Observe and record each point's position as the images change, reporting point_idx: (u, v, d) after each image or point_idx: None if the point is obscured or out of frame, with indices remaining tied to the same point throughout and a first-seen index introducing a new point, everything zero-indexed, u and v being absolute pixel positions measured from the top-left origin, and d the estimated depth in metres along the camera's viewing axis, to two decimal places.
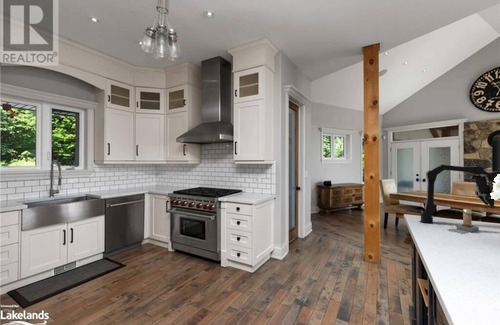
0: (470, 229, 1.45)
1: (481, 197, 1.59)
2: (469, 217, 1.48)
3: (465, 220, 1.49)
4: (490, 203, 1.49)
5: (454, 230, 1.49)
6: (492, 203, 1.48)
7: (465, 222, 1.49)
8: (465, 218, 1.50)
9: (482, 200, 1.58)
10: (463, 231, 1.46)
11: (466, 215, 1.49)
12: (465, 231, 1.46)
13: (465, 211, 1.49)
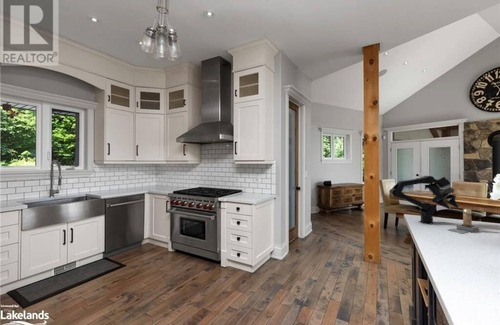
0: (470, 229, 1.45)
1: (450, 202, 1.63)
2: (469, 217, 1.48)
3: (465, 220, 1.49)
4: (444, 205, 1.58)
5: (454, 230, 1.49)
6: (445, 205, 1.57)
7: (465, 222, 1.49)
8: (465, 218, 1.50)
9: (452, 204, 1.62)
10: (463, 231, 1.46)
11: (466, 215, 1.49)
12: (465, 231, 1.46)
13: (465, 211, 1.49)
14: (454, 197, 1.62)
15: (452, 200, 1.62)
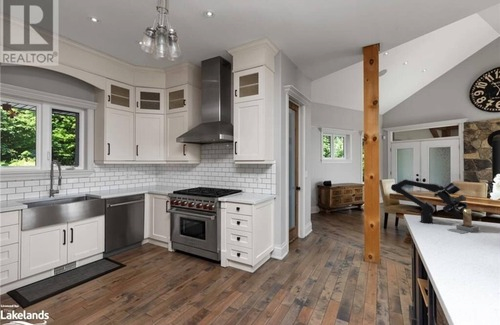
0: (470, 229, 1.45)
1: (461, 210, 1.57)
2: (469, 217, 1.48)
3: (465, 220, 1.49)
4: (456, 214, 1.51)
5: (454, 230, 1.49)
6: (457, 214, 1.51)
7: (465, 222, 1.49)
8: (465, 218, 1.50)
9: None
10: (463, 231, 1.46)
11: (466, 214, 1.49)
12: (465, 231, 1.46)
13: (465, 211, 1.49)
14: (466, 205, 1.55)
15: (464, 208, 1.56)
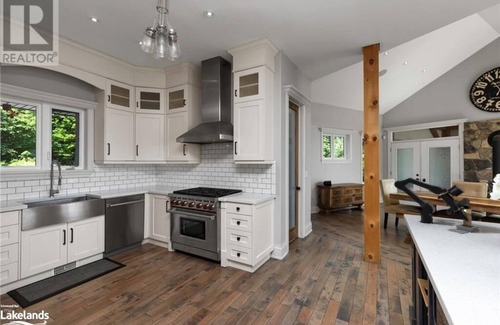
0: (470, 229, 1.45)
1: None
2: (469, 217, 1.48)
3: (465, 220, 1.49)
4: (462, 217, 1.50)
5: (454, 230, 1.49)
6: (463, 216, 1.49)
7: (465, 222, 1.49)
8: None
9: None
10: (463, 231, 1.46)
11: (466, 214, 1.49)
12: (465, 231, 1.46)
13: (465, 211, 1.49)
14: (467, 208, 1.52)
15: None
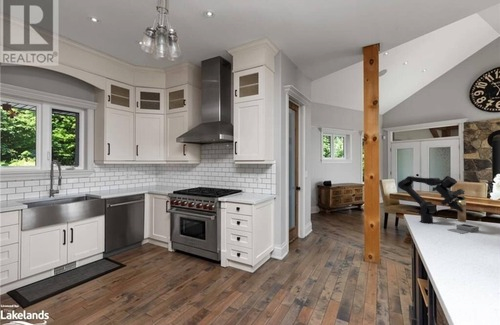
0: (470, 229, 1.45)
1: None
2: (464, 208, 1.47)
3: (460, 211, 1.48)
4: (456, 208, 1.49)
5: (454, 230, 1.49)
6: (458, 207, 1.48)
7: (460, 213, 1.48)
8: None
9: None
10: (463, 231, 1.46)
11: (461, 205, 1.48)
12: (465, 231, 1.46)
13: (460, 202, 1.48)
14: (462, 199, 1.52)
15: None
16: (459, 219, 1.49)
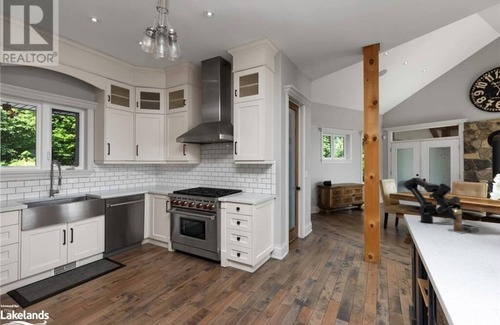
0: (470, 229, 1.45)
1: None
2: (459, 217, 1.46)
3: (455, 220, 1.48)
4: (450, 216, 1.48)
5: None
6: (451, 215, 1.47)
7: (455, 222, 1.48)
8: None
9: None
10: (463, 231, 1.46)
11: (456, 215, 1.47)
12: (465, 231, 1.46)
13: (455, 211, 1.48)
14: (460, 207, 1.51)
15: None
16: (454, 228, 1.48)
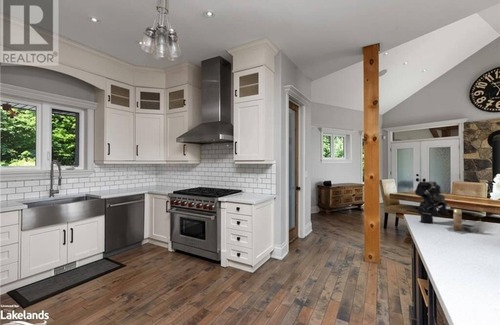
0: (470, 229, 1.45)
1: (440, 209, 1.62)
2: (459, 217, 1.46)
3: (455, 220, 1.47)
4: (435, 213, 1.56)
5: None
6: (436, 212, 1.55)
7: (455, 222, 1.48)
8: (455, 218, 1.48)
9: (443, 212, 1.60)
10: (463, 231, 1.46)
11: (456, 215, 1.47)
12: (465, 231, 1.46)
13: (455, 211, 1.47)
14: (445, 204, 1.60)
15: (443, 207, 1.60)
16: (455, 228, 1.48)
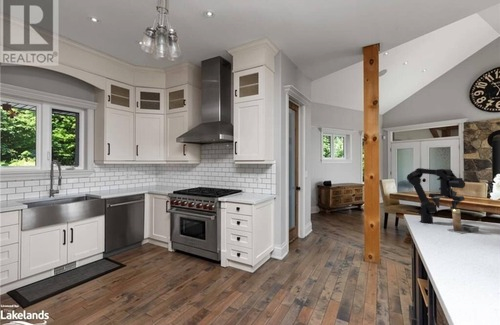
0: (470, 229, 1.45)
1: (436, 200, 1.61)
2: (458, 217, 1.47)
3: (455, 220, 1.48)
4: (454, 206, 1.51)
5: None
6: (455, 206, 1.51)
7: (455, 222, 1.48)
8: (454, 218, 1.48)
9: (436, 203, 1.61)
10: (463, 231, 1.46)
11: (455, 215, 1.47)
12: (465, 231, 1.46)
13: (454, 211, 1.48)
14: (439, 198, 1.63)
15: (438, 199, 1.61)
16: (454, 228, 1.48)
